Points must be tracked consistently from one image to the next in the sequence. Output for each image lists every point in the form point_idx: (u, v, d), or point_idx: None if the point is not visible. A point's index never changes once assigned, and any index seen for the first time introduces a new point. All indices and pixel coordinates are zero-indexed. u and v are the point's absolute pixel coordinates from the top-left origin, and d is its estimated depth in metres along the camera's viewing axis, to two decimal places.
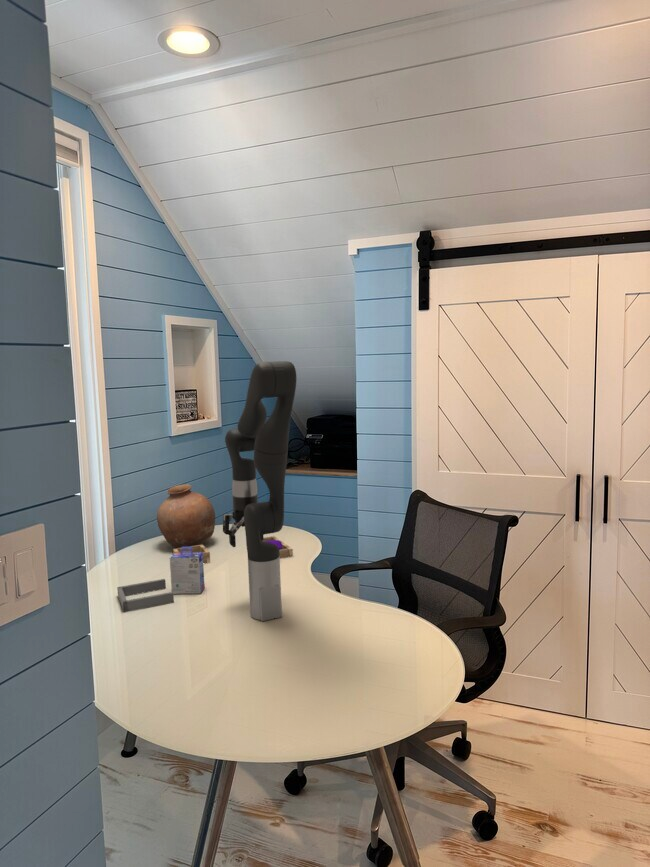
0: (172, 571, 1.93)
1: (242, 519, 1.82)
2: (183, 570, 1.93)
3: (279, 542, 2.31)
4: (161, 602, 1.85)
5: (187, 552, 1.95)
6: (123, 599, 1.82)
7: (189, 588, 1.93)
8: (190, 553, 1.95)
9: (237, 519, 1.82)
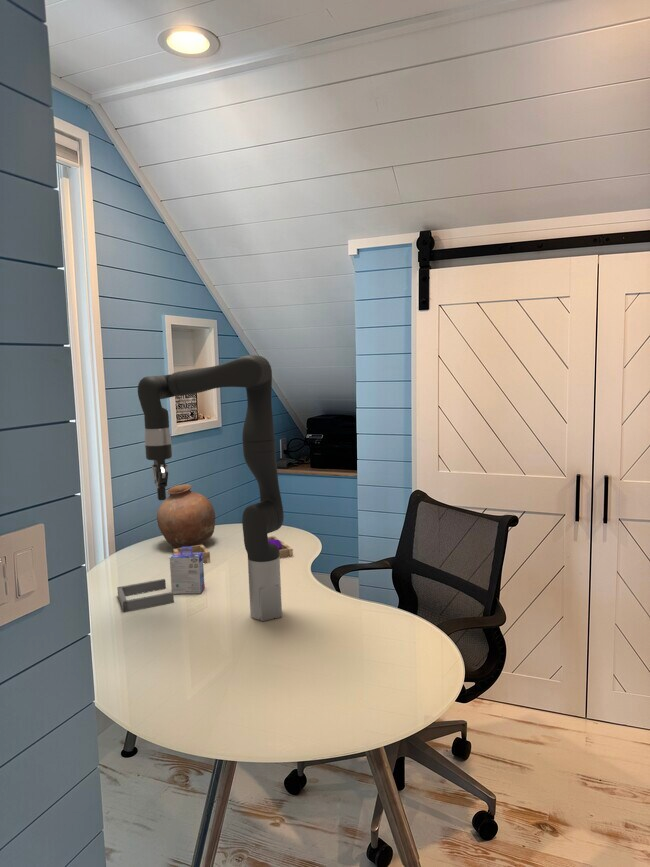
0: (172, 571, 1.93)
1: None
2: (183, 570, 1.92)
3: (278, 541, 2.32)
4: (161, 602, 1.85)
5: (187, 552, 1.95)
6: (123, 599, 1.82)
7: (189, 588, 1.93)
8: (190, 553, 1.95)
9: None
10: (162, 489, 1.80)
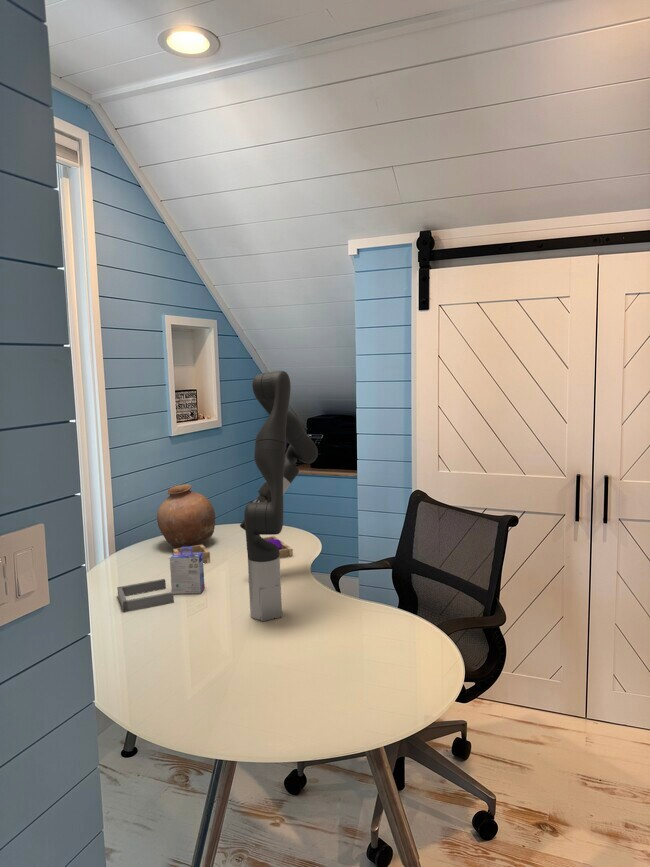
0: (172, 571, 1.93)
1: (254, 501, 2.05)
2: (183, 570, 1.93)
3: (278, 541, 2.32)
4: (161, 602, 1.85)
5: (187, 552, 1.95)
6: (123, 599, 1.82)
7: (189, 588, 1.93)
8: (190, 553, 1.95)
9: None
10: None
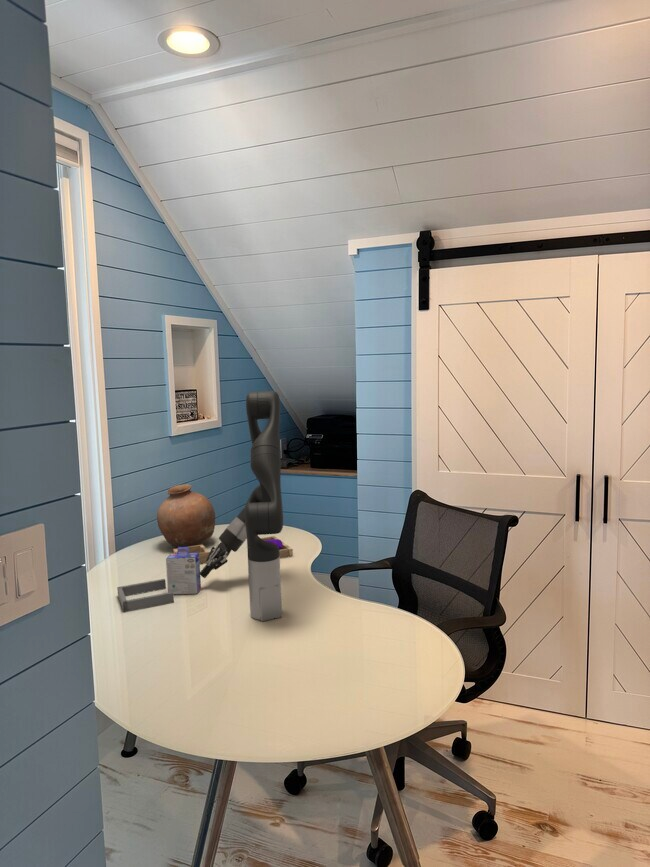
0: (168, 572, 1.92)
1: (215, 548, 2.00)
2: (179, 571, 1.92)
3: (279, 541, 2.32)
4: (161, 602, 1.85)
5: (183, 552, 1.94)
6: (123, 599, 1.82)
7: (186, 588, 1.93)
8: (186, 553, 1.94)
9: None
10: None
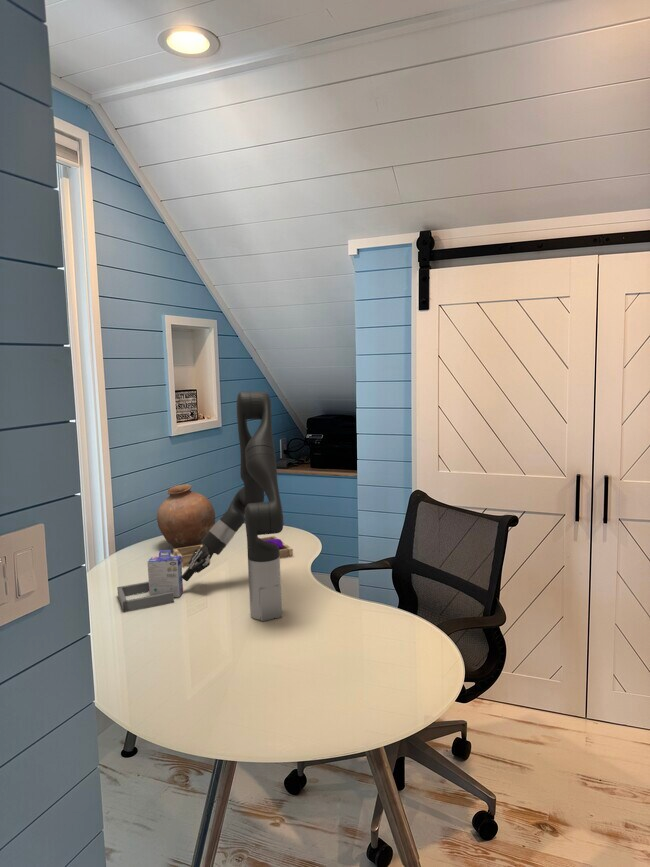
0: (150, 575, 1.89)
1: (197, 551, 1.98)
2: (161, 574, 1.89)
3: (280, 541, 2.32)
4: (161, 602, 1.85)
5: (165, 556, 1.92)
6: (123, 599, 1.82)
7: None
8: (168, 556, 1.92)
9: None
10: None
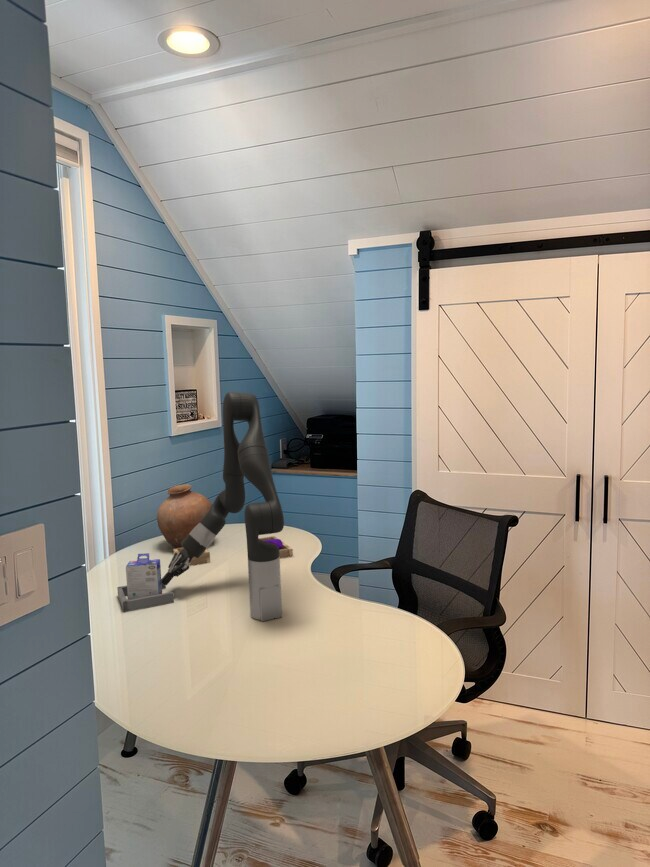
0: (128, 579, 1.86)
1: (177, 554, 1.95)
2: (140, 578, 1.86)
3: (279, 541, 2.32)
4: (161, 602, 1.85)
5: (144, 559, 1.89)
6: (123, 599, 1.82)
7: None
8: (147, 560, 1.89)
9: None
10: None
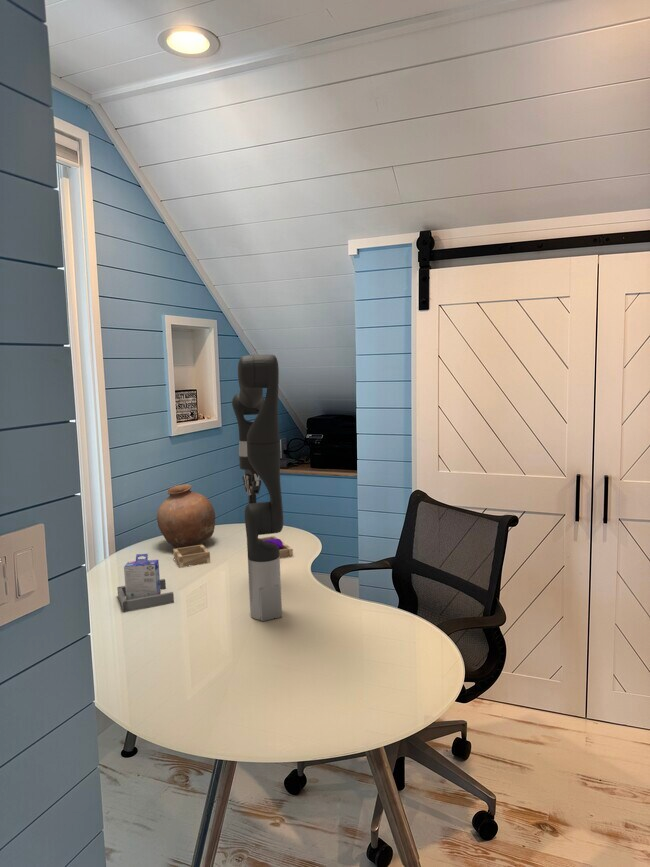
0: (127, 580, 1.86)
1: (244, 477, 1.98)
2: (138, 579, 1.86)
3: (279, 540, 2.33)
4: (161, 602, 1.85)
5: (142, 560, 1.88)
6: (123, 599, 1.82)
7: None
8: (145, 561, 1.88)
9: None
10: None
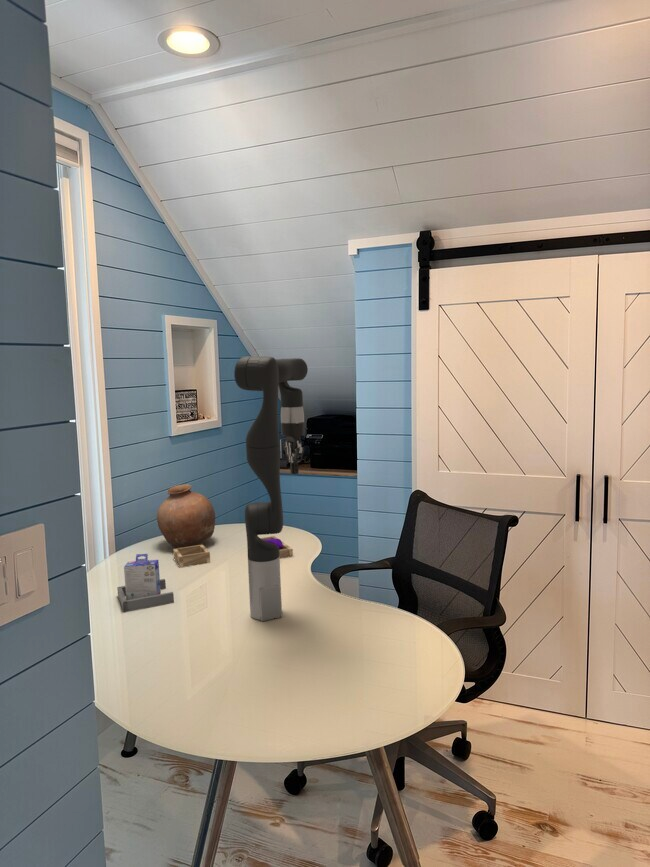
0: (127, 580, 1.86)
1: (286, 444, 1.95)
2: (138, 579, 1.86)
3: (279, 540, 2.33)
4: (161, 602, 1.85)
5: (142, 560, 1.88)
6: (123, 599, 1.82)
7: None
8: (145, 561, 1.88)
9: None
10: None
